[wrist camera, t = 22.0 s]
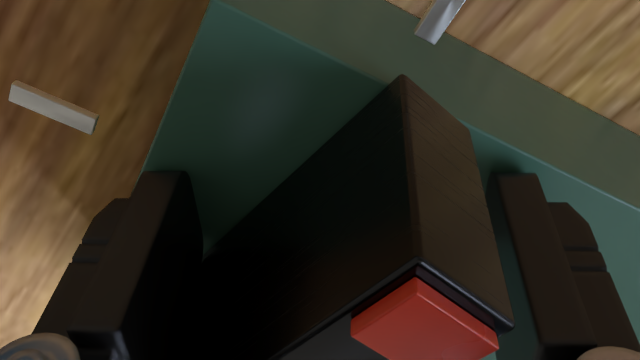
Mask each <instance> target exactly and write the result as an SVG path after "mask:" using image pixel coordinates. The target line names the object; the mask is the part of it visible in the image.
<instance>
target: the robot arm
mask: <svg viewBox="0 0 640 360" xmlns="http://www.w3.org/2000/svg"><path fill="white" fill-rule="evenodd" d="M485 197H486V201H487V205H488V210H489V214H490V218H491V222H492V227H493V231H494V235H495V239H496V243H497V248H498V252H499V256H500V260H501V264H502V269H503V273H504V277H505V281H506V285H507V290H508V294H509V298H510V302H511V307H512V311H513V315H514V319H515V327H514V329H513V330H512V331H510V332H508V333H506V334H504V335H503V336H501V337H499V338H497V339H498V344H499V349H498V350H497V351H495V354H496V359H497V360H640V344H639V341H638V339H637V337H636V334H635V332H634V329H633V327H632V325H631V322H630V320H629V318H628V315H627V313H626V310H625V308H624V306H623V303H622V301H621V299H620V296H619V294H618V292H617V289H616V287H615V284H614V282H613V280H612V277H611V275H610V273H609V272H607V265H606V263H605V261H604V258H603V256H602V254H601V252H599V250H598V248H599V246H598V244H597V242H596V239H595V237H594V235H593V232H592V230H591V227H590V225H589V223H588V222H587V221H586V220H585V219H584V218H583V217H582V216H581V215H580V214H579V213H578V212H577V211H576V210H575V209H574V208H573V207H572V206H571V205H570V204H569V203H568V202H547V200H546V198H545V195H544V192H543V189H542V186H541V184H540V181H539V178H538V176H537V174H536V173H490V175H489V178H488V182H487V188H486V194H485ZM202 258H203V233H202V228H201V224H200V220H199V215H198V211H197V206H196V202H195V197H194V193H193V188H192V184H191V180H190V177H189V175H188V173H187V172H186V171H144V172H143V173H142V174H141V175H140V177H139V179H138V181H137V183H136V186H135V188H134V190H133V192H132V194H131V196H130V198H129V199H127V198H115V199H114V200H113V201H112V202H111V203H109V204H108V205H107V206H106V207H105V208H104V209H103V210H102V211H101V212H99V213H98V214H97V215H96V216H95V217H94V218H93V220H92V222H91V224H90V225H89V227H88V229H87V231H86V233H85V235H84V237H83V239H82V244H79V246H78V248H77V250H76V252H75V254H74V256H73V257H72V263H69V265H68V267H67V269H66V271H65V272H64V274H63V276H62V278H61V280H60V282H59V284H58V286H57V287H56V289H55V291H54V293H53V295H52V297H51V299H50V301H49V302H48V304H47V306H46V308H45V310H44V312H43V314H42V316H41V317H40V319H39V321H38V323H37V325H36V327H35V329H34V331H33V332H32V334H31V335H28V336H25V337H22V338H19V339H17V340H15V341H12V342H11V343H9V344H7V345H6V346H4V347H2V348H1V349H0V360H173V358H174V354H175V351H176V348H177V344H178V341H179V338H180V334H181V331H182V327H183V324H184V321H185V317H186V314H187V311H188V307H189V304H190V301H191V297H192V294H193V291H194V287H195V284H196V281H197V277H198V274H199V271H200V267H201V264H202Z"/></svg>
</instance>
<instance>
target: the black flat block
mask: <svg viewBox="0 0 640 360" xmlns="http://www.w3.org/2000/svg"><path fill="white" fill-rule="evenodd" d="M514 327H515V319H514V315H513V311H512V307H511V302H510V298H509V294H508V290H507V285H506V281H505V277H504V273H503V269H502V264H501V260H500V256H499V252H498V248H497V243H496V239H495V235H494V231H493V227H492V222H491V218H490V214H489V210H488V205H487V201H486V197H485V193H484V189H483V184H482V180H481V176H480V172H479V168H478V163H477V159H476V155H475V151H474V147H473V142H472V138H471V134H470V131H469V129H468V128H467V127H465V126H464V125H463V124H462V123H461V122H460V121H458V120H457V119H456V118H455V117H454V116H453V115H451V114H450V113H449V112H448V111H447V110H446V109H445V108H443V107H442V106H441V105H440V104H439V103H438V102H436V101H435V100H434V99H433V98H432V97H431V96H429V95H428V94H427V93H426V92H425V91H424V90H422V89H421V88H420V87H419V86H418V85H417V84H415V83H414V82H413V81H412V80H411V79H410V78H408V77H407V76H406V75H404V74H400V75H399V76H397V77H396V78H395V79H394V80H393V81H392V82H391V83H390V84H389V85H388V86H387V87H385V88H384V89H383V90H382V91H381V92H380V93H379V94H378V95H377V96H376V97H375V98H374V99H372V100H371V101H370V102H369V103H368V104H367V105H366V106H365V107H364V108H363V109H362V110H360V111H359V112H358V113H357V114H356V115H355V116H354V117H353V118H352V119H351V120H350V121H348V122H347V123H346V124H345V125H344V126H343V127H342V128H341V129H340V130H339V131H338V132H336V133H335V134H334V135H333V136H332V137H331V138H330V139H329V140H328V141H327V142H326V143H324V144H323V145H322V146H321V147H320V148H319V149H318V150H317V151H316V152H315V153H314V154H313V155H311V156H310V157H309V158H308V159H307V160H306V161H305V162H304V163H303V164H302V165H301V166H299V167H298V168H297V169H296V170H295V171H294V172H293V173H292V174H291V175H290V176H289V177H287V178H286V179H285V180H284V181H283V182H282V183H281V184H280V185H279V186H278V187H277V188H275V189H274V190H273V191H272V192H271V193H270V194H269V195H268V196H267V197H266V198H265V199H263V200H262V201H261V202H260V203H259V204H258V205H257V206H256V207H255V208H254V209H253V210H252V211H250V212H249V213H248V214H247V215H246V216H245V217H244V218H243V219H242V220H241V221H240V222H238V223H237V224H236V225H235V226H234V227H233V228H232V229H231V230H230V231H229V232H228V233H226V234H225V235H224V236H223V237H222V238H221V239H220V240H219V241H218V242H217V243H216V244H214V245H213V246H212V247H211V248H210V249H209V250H208V251H207V252H206V253H205V254H204V255H203V258H202V264H201V267H200V271H199V274H198V277H197V281H196V284H195V287H194V291H193V294H192V297H191V301H190V304H189V307H188V311H187V314H186V317H185V321H184V324H183V327H182V331H181V334H180V338H179V341H178V344H177V348H176V351H175V354H174V358H173V360H480V359H482V358H484V357H486V356H487V355H489V354H491V353H493V352H495V351H497V350H498V349H499V344H498V339H497V338H499V337H501V336H503V335H504V334H506V333H508V332H510V331H512V330H513V329H514Z"/></svg>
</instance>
